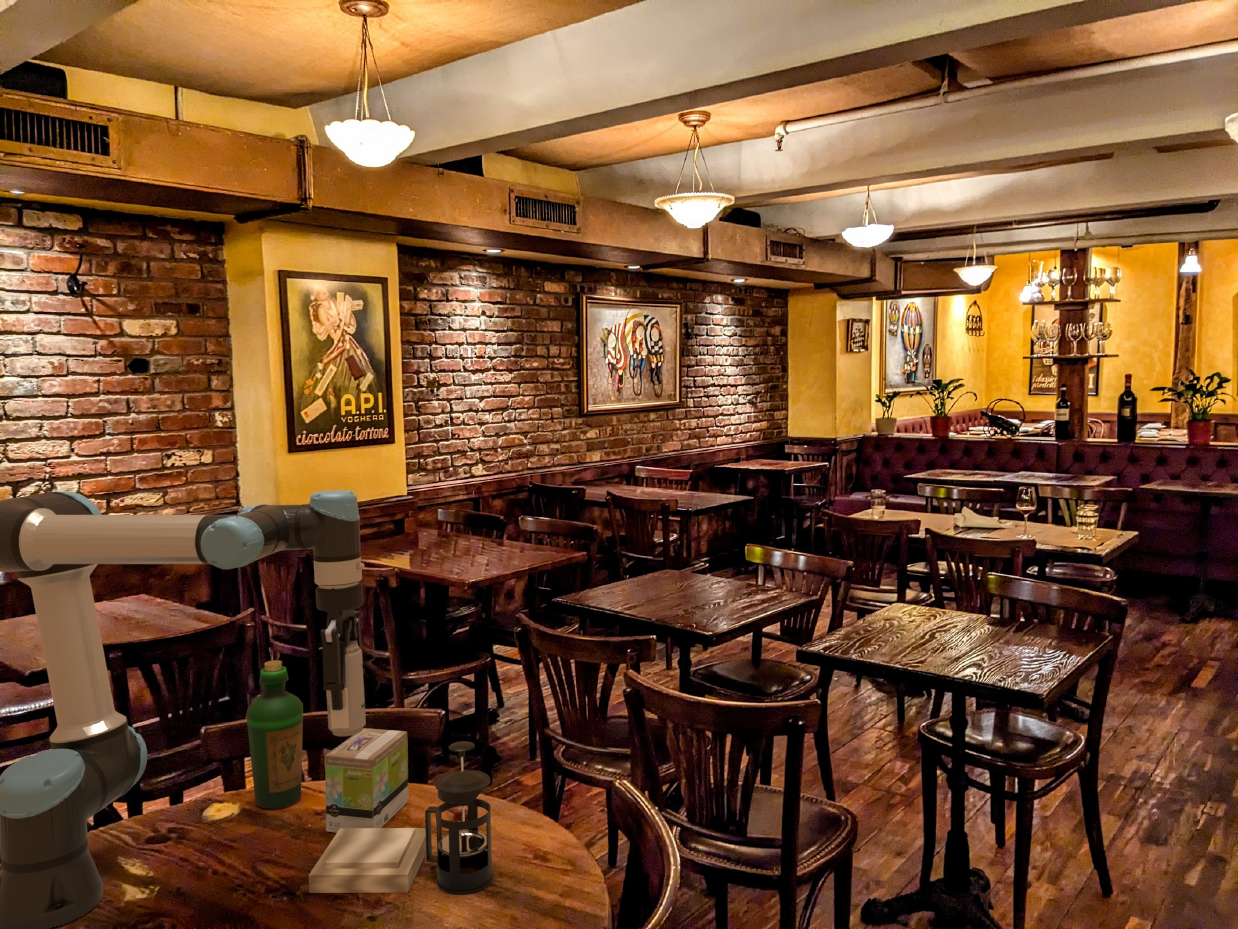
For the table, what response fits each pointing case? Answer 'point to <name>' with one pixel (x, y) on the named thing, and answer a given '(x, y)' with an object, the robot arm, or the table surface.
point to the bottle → (275, 740)
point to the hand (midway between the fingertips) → (346, 720)
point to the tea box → (366, 779)
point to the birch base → (369, 861)
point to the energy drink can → (352, 692)
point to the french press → (461, 845)
